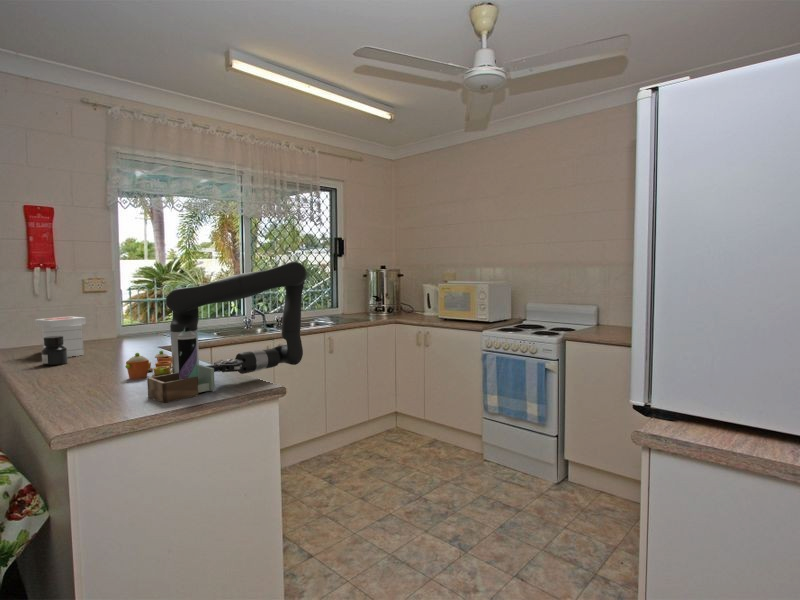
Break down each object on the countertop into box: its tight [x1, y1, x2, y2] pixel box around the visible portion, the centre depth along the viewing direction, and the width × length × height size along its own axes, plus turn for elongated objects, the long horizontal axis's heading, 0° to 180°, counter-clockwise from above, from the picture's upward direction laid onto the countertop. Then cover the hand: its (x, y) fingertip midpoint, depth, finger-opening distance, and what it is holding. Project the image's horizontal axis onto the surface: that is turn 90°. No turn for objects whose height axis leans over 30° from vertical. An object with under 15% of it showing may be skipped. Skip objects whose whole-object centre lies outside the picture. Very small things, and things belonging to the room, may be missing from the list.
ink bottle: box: [41, 336, 69, 367], centre depth 201 cm, size 10×9×12 cm
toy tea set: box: [125, 350, 173, 380], centre depth 181 cm, size 26×16×10 cm, turn 22°
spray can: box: [177, 327, 198, 380], centre depth 149 cm, size 6×6×20 cm
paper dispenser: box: [34, 315, 87, 358], centre depth 226 cm, size 19×30×18 cm, turn 39°
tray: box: [197, 363, 216, 394], centre depth 150 cm, size 12×10×7 cm
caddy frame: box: [146, 372, 199, 404], centre depth 146 cm, size 12×10×6 cm
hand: (205, 369), depth 154 cm, fingers closed
